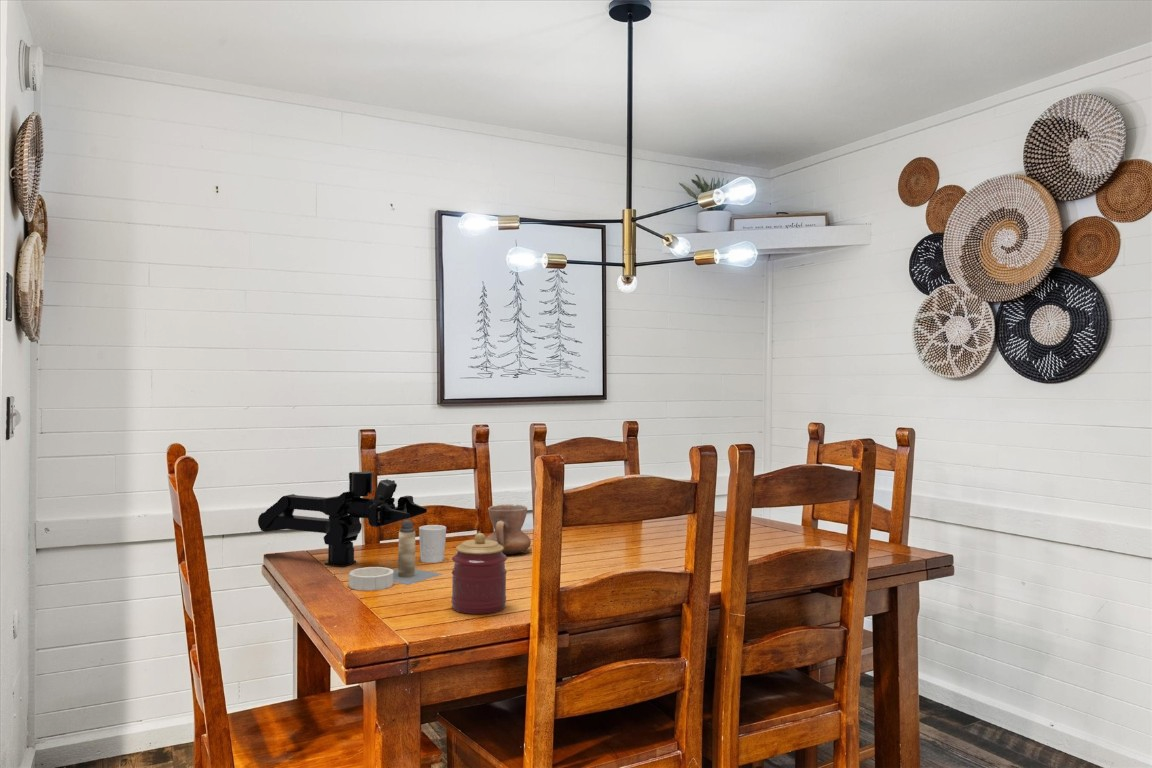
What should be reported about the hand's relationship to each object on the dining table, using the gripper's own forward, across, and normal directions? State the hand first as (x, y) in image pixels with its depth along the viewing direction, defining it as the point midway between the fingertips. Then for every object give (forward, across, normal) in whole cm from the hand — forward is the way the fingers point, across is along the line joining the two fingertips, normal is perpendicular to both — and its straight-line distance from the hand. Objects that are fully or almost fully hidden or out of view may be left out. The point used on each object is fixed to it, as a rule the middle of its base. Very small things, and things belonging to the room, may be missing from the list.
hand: (418, 513), depth 222 cm
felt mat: (0, -5, +17) cm, 17 cm away
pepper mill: (0, -5, +16) cm, 17 cm away
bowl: (-3, -17, +17) cm, 24 cm away
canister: (+31, -23, +17) cm, 42 cm away
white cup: (-3, +14, +17) cm, 22 cm away
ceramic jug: (+12, +34, +17) cm, 40 cm away
